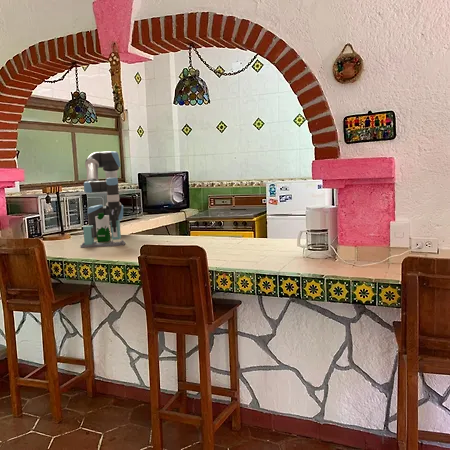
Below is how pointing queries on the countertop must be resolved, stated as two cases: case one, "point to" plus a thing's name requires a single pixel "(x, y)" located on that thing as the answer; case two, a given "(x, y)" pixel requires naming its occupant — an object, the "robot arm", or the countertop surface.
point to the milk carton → (102, 227)
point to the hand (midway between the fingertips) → (116, 236)
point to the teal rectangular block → (88, 235)
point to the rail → (104, 244)
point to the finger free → (117, 230)
